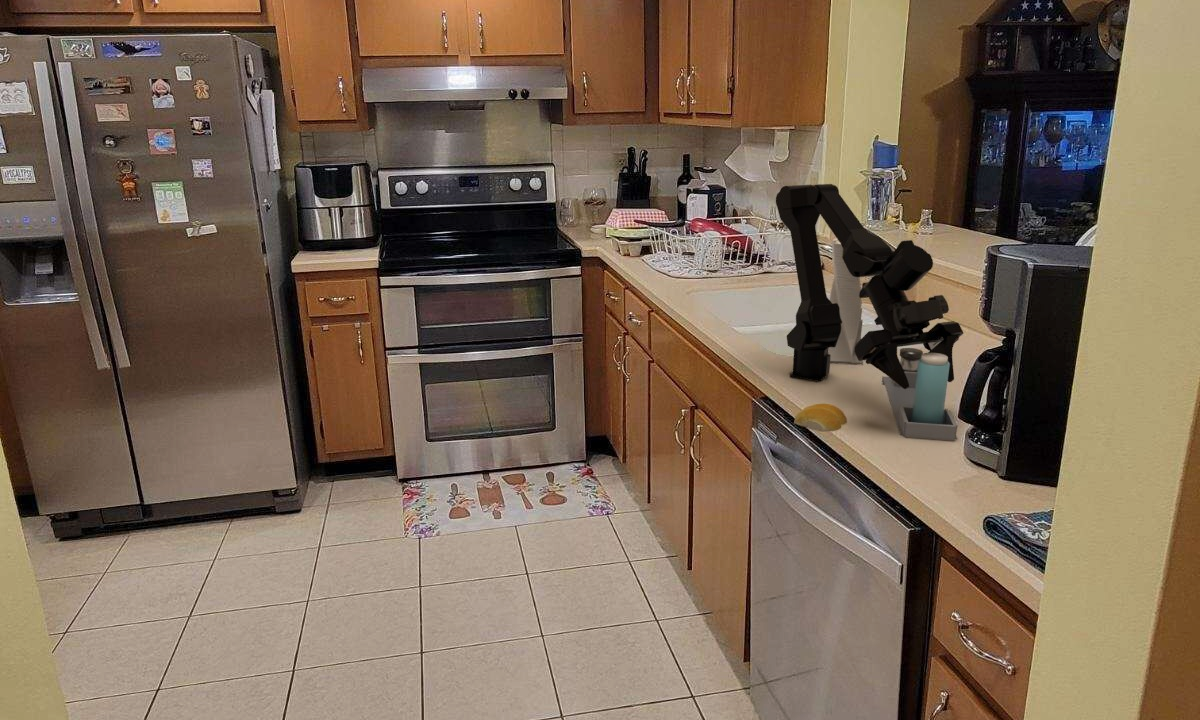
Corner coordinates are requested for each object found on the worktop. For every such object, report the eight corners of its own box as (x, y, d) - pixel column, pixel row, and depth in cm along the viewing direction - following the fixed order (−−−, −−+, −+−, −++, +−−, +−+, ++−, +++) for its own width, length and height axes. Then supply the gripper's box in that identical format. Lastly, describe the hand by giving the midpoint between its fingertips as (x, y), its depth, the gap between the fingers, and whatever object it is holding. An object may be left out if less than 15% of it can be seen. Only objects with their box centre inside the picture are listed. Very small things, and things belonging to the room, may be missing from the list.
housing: (958, 446, 136) (961, 424, 135) (900, 442, 138) (902, 420, 137) (929, 384, 166) (931, 364, 164) (881, 381, 167) (883, 362, 166)
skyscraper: (863, 366, 176) (875, 235, 168) (824, 364, 178) (834, 234, 170) (859, 355, 184) (871, 228, 176) (822, 353, 186) (831, 227, 177)
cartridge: (908, 431, 140) (916, 357, 136) (913, 422, 143) (922, 350, 140) (938, 437, 137) (947, 362, 133) (943, 427, 141) (952, 354, 137)
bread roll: (851, 424, 146) (853, 402, 145) (833, 440, 139) (834, 418, 138) (806, 414, 151) (808, 393, 150) (786, 430, 144) (788, 408, 143)
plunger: (894, 381, 162) (897, 352, 161) (899, 375, 166) (902, 346, 164) (917, 385, 160) (920, 355, 159) (921, 378, 164) (924, 349, 162)
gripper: (871, 284, 135) (910, 367, 128) (962, 275, 141) (1004, 354, 135) (838, 320, 144) (873, 399, 138) (924, 310, 151) (962, 386, 144)
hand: (929, 384), depth 138 cm, fingers open, 9 cm apart
